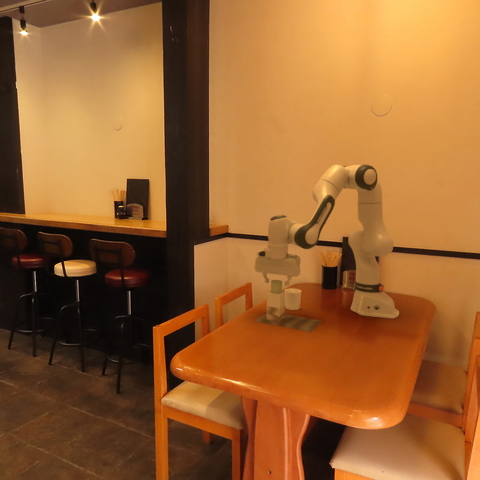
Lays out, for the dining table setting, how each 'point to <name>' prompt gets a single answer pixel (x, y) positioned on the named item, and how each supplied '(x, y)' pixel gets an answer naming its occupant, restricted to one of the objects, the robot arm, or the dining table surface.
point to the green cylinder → (276, 286)
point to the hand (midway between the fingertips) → (276, 284)
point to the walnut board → (292, 322)
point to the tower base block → (275, 313)
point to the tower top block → (276, 299)
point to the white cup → (292, 299)
